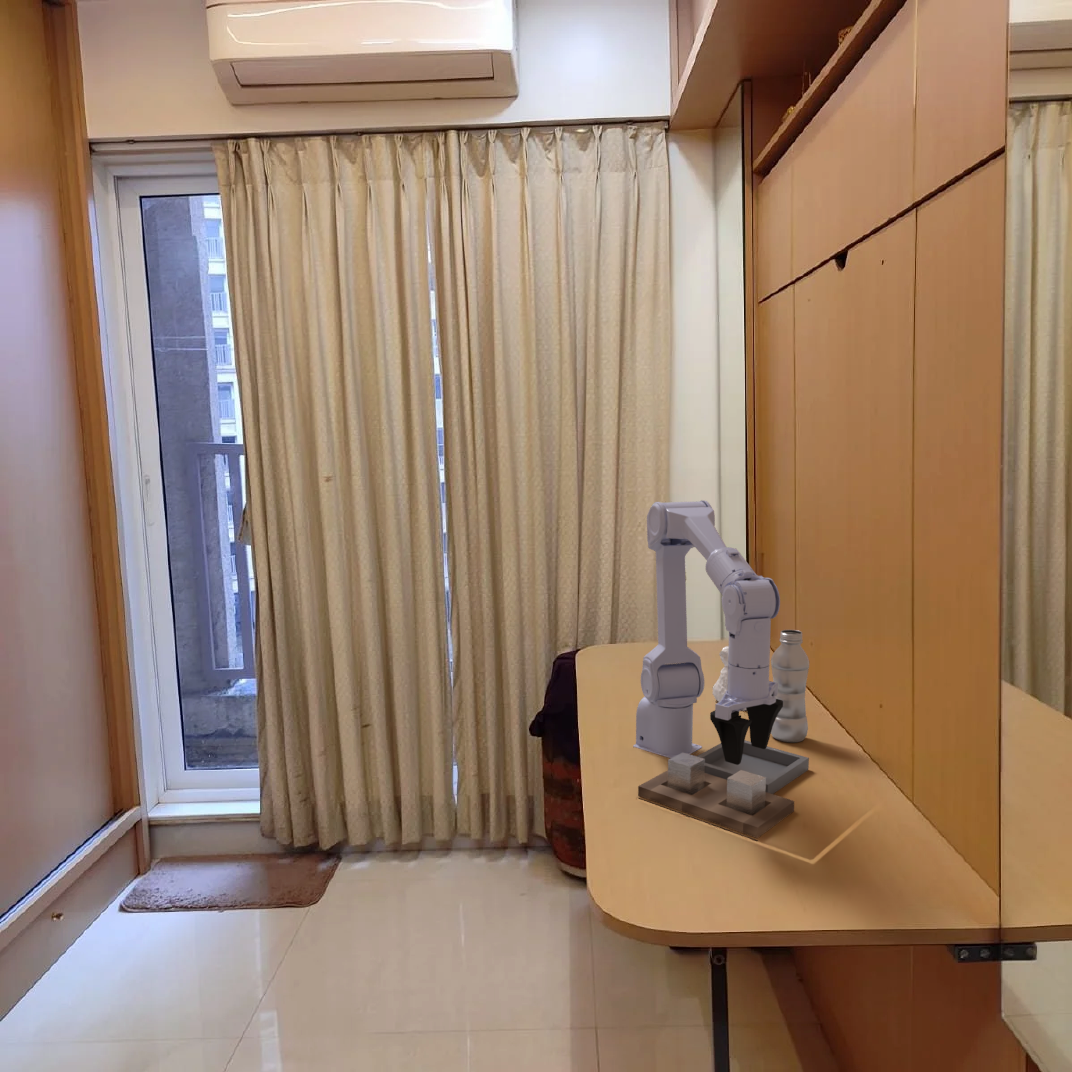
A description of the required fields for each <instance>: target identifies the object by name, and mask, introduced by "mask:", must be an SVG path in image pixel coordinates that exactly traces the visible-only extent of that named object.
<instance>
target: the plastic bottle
mask: <svg viewBox="0 0 1072 1072" xmlns="http://www.w3.org/2000/svg"><path fill="white" fill-rule="evenodd" d="M779 635H780V638H779V642H780V645H779V646H778V647H777V648H776V649H775V651H774V652H773V653H772V656H771V657H770V664H771V665H770V666H771V673H772V682H776V683H778V695H777V696H775V697H776V699H779V700H782V701H783V707H782V709H781V710H780V712H779V713H778V715H777V717H776V719H775V722H774V724H773V727H772V730H771V734H770V735H771V736H772V737H773V738H774V739H775V740H776V741H779V742H782V743H799V742H802V741H804V740H805V738H806V737H807V735H808V731H809V725H808V717H807V713H806V712H807V711H806V690H807V689H806V688H807V679H808V675H809V668H810V660H809V656H808V655H807V653H806V651H805V650H804V648H803V647H802V645H801V644H803V631H800V630H798V629H782V630H780V634H779Z"/></svg>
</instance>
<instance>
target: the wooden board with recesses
mask: <svg viewBox="0 0 1072 1072" xmlns="http://www.w3.org/2000/svg"><path fill="white" fill-rule="evenodd" d="M637 788H638V791H637V793H638V795H637V796H638V797H637V799H638V800H641V801H644V802H647V803H649V804H653V805H655V806H659V807H661V808H664V809H666V810H669V811H672V812H674V813H678V814H680V815H683V816H686V817H689V818H691V819H693V820H697V821H699V822H703V823H706V824H708V825H710V826H714V827H717V828H719V829H722V830H725V831H727V832H730V833H733V834H736V835H739V836H741V837H744V838H747V839H749V840H752V841H755V842H759V840H757V839H759V838H760V837H761V836H762V835H764V834H765V833H766V832H768V831H769V830H770V829H772V828H773V827H775V826H776V825H777V824H779V823H780V822H781V821H782V820H784V819H785V818H786V817H787V818H788V817H789V816H790V815H791V814H792V813H793V812H794V811H795V800H793V799H789V798H786V797H783V796H779V795H777V794H775V793H774V794H770V793H767V792H765V808H763V809H762V810H760V811H759V812H758V813H756V814H755V815H753V816H752V815H749V814H746V813H743V812H740V811H737V810H734V809H731V808H728V807H726V806H727V780H726V779H723V778H720V777H716V776H713V775H710V774H707V773H705V777H704V788H703V789H701V790H700V791H698V792H696V793H695V794H693V795H690V794H687V793H684V792H681V791H678V790H675V789H672V788H669V787H668V769H667V770H665V771H663V772H662V773H660V774H658V775H656V776H654V777H652V778H651V779H648V780H647V781H645V782H643V783H641V784H639V785H638V787H637ZM646 799H647V800H646ZM649 800H650V801H649ZM651 801H652V802H651ZM660 804H661V805H660ZM663 805H664V806H663ZM665 806H666V807H665ZM677 810H678V811H677ZM680 811H681V812H680ZM682 812H683V813H682ZM691 815H692V816H691ZM710 822H711V823H710ZM716 824H717V825H716ZM719 825H720V826H719ZM722 826H723V827H722ZM724 827H725V828H724ZM730 829H731V830H730ZM736 831H737V832H736ZM749 836H750V837H749ZM753 837H754V838H753ZM755 838H756V839H755Z"/></svg>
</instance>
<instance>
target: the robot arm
mask: <svg viewBox="0 0 1072 1072" xmlns="http://www.w3.org/2000/svg"><path fill="white" fill-rule="evenodd" d="M715 515H716V514H715V510H714V508H713V507H712V505H711V503H710V502H709V501H708V500H706V499H705V500H703V499H701V500H700V501H699V500H698V501H671V502H668V501H667V502H661V501H655V502H653V504H652V505H651V506H650V507H649V510H648V512H647V515H646V535H647V536H646V539H647V547H648V548H647V549H649V550H652V551H654V552H655V564H656V565H655V569H656V570H655V572H656V574H655V575H656V576H655V577H656V604H657V605H656V609H657V610H656V611H657V612H656V613H657V643H658V644H657V645H656V646H655V647H654V648H652V650H650V651H648V653H646V654H645V655H644V656H643V658H642V659H643V660H642V669H641V672H640V686H641V687H640V688H641V691H642V694H643V697H642V698H641V700H640V701H639V703H638V704H637V705H638V706H637V708H636V713H635V723H636V724H635V744H633V748H636V749H639V750H643V751H646V752H648V753H649V752H650V753H653V754H656V755H658V756H661V757H665V758H668V759H671V758H673V757H675V756H676V755H678V754H680V753H682V752H683V753H687V754H690V755H692V754H693V753H695V752H697V751H698V750H700V749H703V746H702V745H699V744H697V743H693V721H694V720H693V719H694V704H696V703H698V700H697V699H698V698H699V697H701V695H702V693H703V692H704V689H705V675H704V671H703V667H702V659H701V657H700V655H699V654H698V653H697V652H695V651H694V650H693V649H691V648H690V647H689V646H688V625H687V624H688V622H687V619H688V618H687V590H686V589H687V588H686V587H687V584H686V583H687V582H686V580H687V579H686V555H688V553H689V552H690V550H691V549H693V548H695V549H696V550H697V552H699V553H700V554H701V556H702V557H703V558H704V559H705V560H706V562H705V571H706V574H707V575H708V578H710V580H711V581H712V583H713V584H714V586H715V587H716V589H717V590H718V592H719V593H720V594H721V607H722V610H723V614H724V626H725V630H726V631H727V632H728V646H729V649H728V689H727V691H726V692H725V694H724V696H723V697H722V699H721V700H720V702H718V701H717V703H715V706H714V708H715V709H714V710H712V711H711V712H710V715H709V716H710V717H709V719H710V721H711V723H712V724H713V726H714V728H715V730H716V732H717V734H718V739H719V740H720V741H719V742H720V743H721V745H722V749H723V753H724V758H725V761H726V762H729V763H733V764H736V765H739V764H740V763H741V760H742V755H743V747H744V741H745V740H746V736H747V733H748V731H749V739H750V742H751V745H752V746H754V747H758V748H761V749H766V747H767V746H768V744H769V742H770V741H769V740H770V737H771V735H772V734H771V730H772V727H773V724H774V722H775V719H776V717H777V715H778V713H779V712H780V710H781V709H782V707H783V701H782V700H779V699H776V697H775V696H777V695H778V683H776V682H773V681H770V664H771V656H770V655H771V628H772V627H771V625H772V624H771V623H772V622H771V621H772V619H775V618H776V617H777V616H778V614H779V612H780V608H781V596H780V595H781V594H780V592H779V588H778V586H777V585H776V583H775V581H774V579H772V578H771V577H764V576H763V575H758V574H757V573H756V572H755V571H754V569H753V568H752V567H751V565H750V564H749V563H748V562H747V560H746V559H745V558H744V557H743V555H742V554H741V552H740V551H739V550H738V549H737V548H734V547H730V546H729V547H727V545H726V544H725V542H724V540H723V539H722V537H721V535H720V533H719V531H718V530H717V529H716V527H715V525H716V521H715V520H716V517H715ZM745 708H746V710H747V711H746V712H747V717H748V719H747V718H744V717H742V715H741V714H740V712H741V711H742V710H743V709H745Z"/></svg>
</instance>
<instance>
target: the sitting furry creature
mask: <svg viewBox="0 0 1072 1072" xmlns="http://www.w3.org/2000/svg"><path fill="white" fill-rule="evenodd" d="M728 649H729V645H726V646H724V647H722V650H721V651H719V655H718V656H719V657H720V660H721V662H722V664H723V665H724V666H723V668H721V670H720V675H719V677H718V679H717V680H716V682H714V685H713V687H712V695H713V697H714V699H715V700H716V701H717V703H718V702H720V700H721V699H722V697H723V696H724V694H725V692H726V691H727V689H728ZM741 711H743V712H745V711H746V712H747V710H746V708H745V709H743V710H741Z"/></svg>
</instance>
